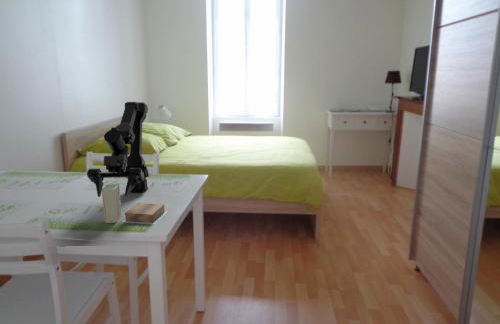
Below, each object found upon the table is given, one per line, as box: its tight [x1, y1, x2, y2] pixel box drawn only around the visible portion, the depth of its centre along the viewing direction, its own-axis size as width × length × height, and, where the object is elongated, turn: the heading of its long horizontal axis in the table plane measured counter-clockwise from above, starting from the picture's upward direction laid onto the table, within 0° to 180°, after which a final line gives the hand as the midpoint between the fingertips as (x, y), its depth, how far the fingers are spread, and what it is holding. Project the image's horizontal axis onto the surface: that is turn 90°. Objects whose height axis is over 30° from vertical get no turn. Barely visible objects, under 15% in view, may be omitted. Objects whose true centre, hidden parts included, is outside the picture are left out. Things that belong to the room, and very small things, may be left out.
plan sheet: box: [121, 210, 169, 225], centre depth 131 cm, size 12×12×1 cm
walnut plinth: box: [124, 202, 165, 223], centre depth 130 cm, size 10×10×3 cm
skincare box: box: [101, 183, 123, 224], centre depth 127 cm, size 6×4×12 cm
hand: (112, 196), depth 127 cm, fingers open, 9 cm apart
